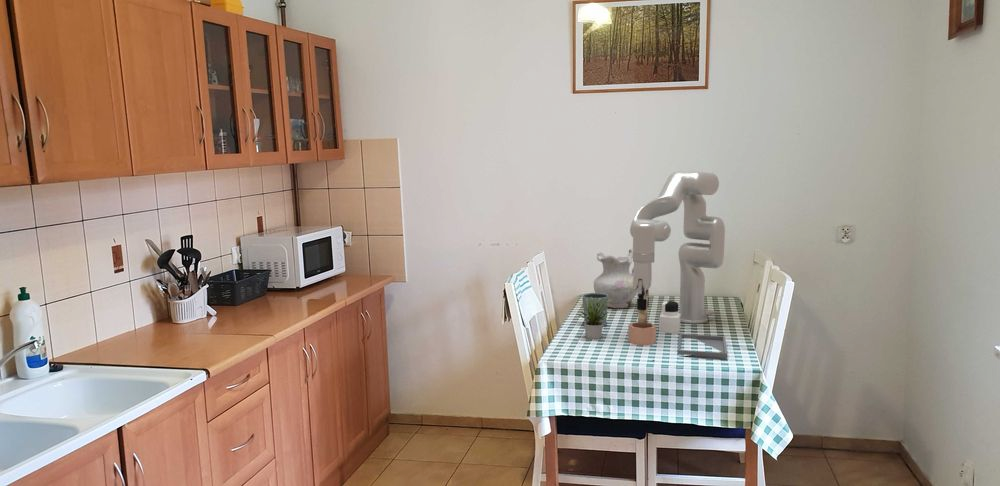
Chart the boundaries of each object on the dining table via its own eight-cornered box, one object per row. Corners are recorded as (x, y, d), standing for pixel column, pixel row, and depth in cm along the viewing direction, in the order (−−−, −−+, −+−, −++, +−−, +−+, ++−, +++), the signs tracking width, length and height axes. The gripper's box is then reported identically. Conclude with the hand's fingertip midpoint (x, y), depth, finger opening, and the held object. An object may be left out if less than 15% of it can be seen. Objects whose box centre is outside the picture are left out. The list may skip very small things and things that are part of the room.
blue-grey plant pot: (610, 327, 283) (610, 297, 282) (584, 328, 282) (585, 298, 281) (604, 321, 293) (604, 292, 292) (579, 322, 292) (580, 292, 291)
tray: (679, 339, 265) (679, 333, 265) (725, 342, 261) (725, 336, 261) (677, 356, 244) (677, 350, 244) (727, 360, 240) (727, 353, 240)
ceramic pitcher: (616, 300, 336) (613, 247, 334) (651, 304, 321) (648, 248, 319) (586, 308, 321) (582, 252, 319) (621, 312, 307) (618, 254, 305)
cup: (647, 340, 265) (647, 321, 264) (659, 346, 256) (659, 327, 255) (624, 342, 263) (625, 323, 262) (636, 348, 254) (636, 329, 253)
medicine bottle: (680, 331, 277) (680, 300, 275) (678, 336, 270) (679, 304, 268) (661, 329, 279) (661, 299, 277) (658, 334, 272) (659, 303, 271)
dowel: (644, 329, 261) (645, 292, 259) (648, 331, 258) (649, 294, 256) (636, 329, 260) (636, 293, 258) (640, 332, 257) (641, 294, 255)
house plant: (624, 339, 266) (624, 296, 263) (601, 347, 256) (601, 302, 254) (593, 333, 275) (593, 290, 273) (570, 340, 266) (570, 296, 264)
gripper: (637, 253, 264) (637, 302, 267) (627, 261, 249) (627, 313, 252) (658, 254, 261) (657, 304, 264) (649, 262, 246) (648, 314, 249)
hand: (642, 308), depth 258 cm, fingers closed on dowel, 3 cm apart
